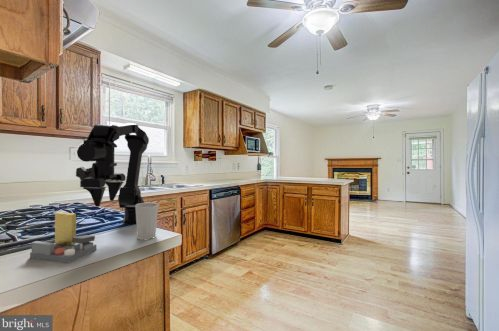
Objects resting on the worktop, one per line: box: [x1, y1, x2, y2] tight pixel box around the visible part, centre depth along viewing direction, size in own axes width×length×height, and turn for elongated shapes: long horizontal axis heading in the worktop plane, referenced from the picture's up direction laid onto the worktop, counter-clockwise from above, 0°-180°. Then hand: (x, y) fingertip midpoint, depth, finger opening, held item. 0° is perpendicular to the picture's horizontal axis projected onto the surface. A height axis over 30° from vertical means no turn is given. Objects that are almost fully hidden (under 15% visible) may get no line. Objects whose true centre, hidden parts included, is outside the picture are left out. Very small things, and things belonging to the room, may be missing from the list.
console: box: [29, 240, 97, 264], centre depth 73 cm, size 10×12×5 cm
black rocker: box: [72, 234, 96, 243], centre depth 75 cm, size 5×3×1 cm, turn 171°
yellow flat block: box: [54, 211, 77, 245], centre depth 76 cm, size 2×6×10 cm, turn 81°
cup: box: [135, 202, 160, 241], centre depth 90 cm, size 8×8×12 cm
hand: (104, 203), depth 88 cm, fingers open, 9 cm apart
